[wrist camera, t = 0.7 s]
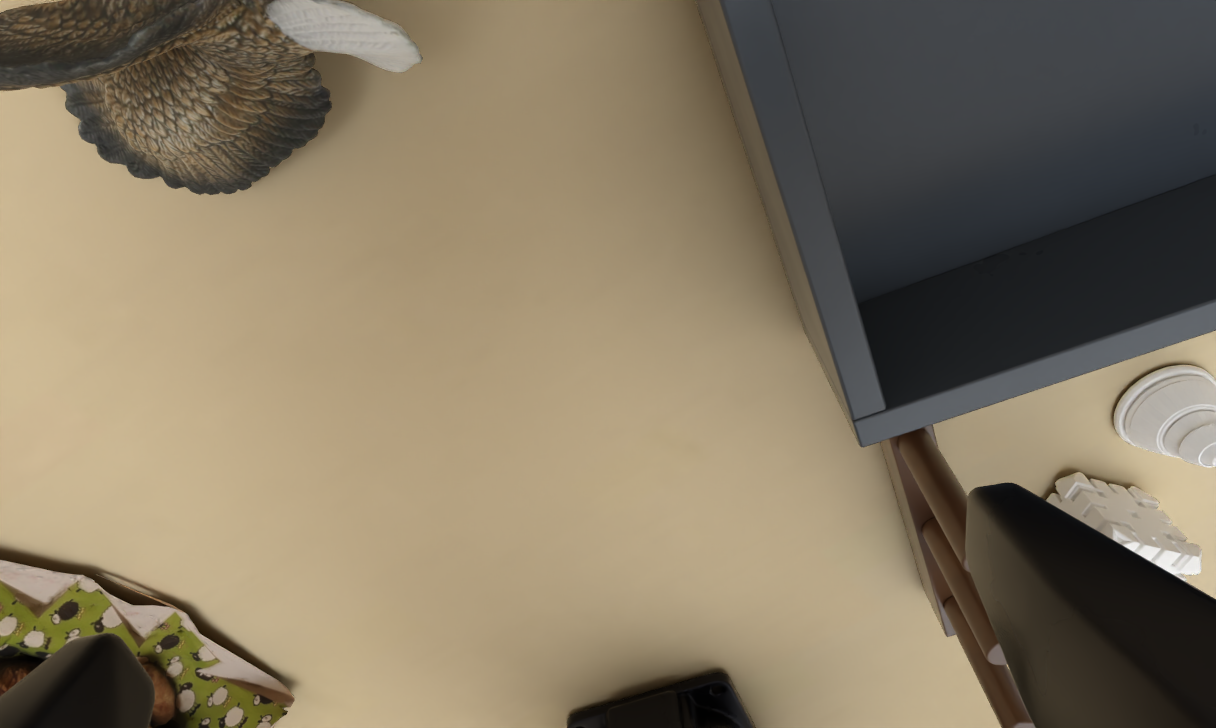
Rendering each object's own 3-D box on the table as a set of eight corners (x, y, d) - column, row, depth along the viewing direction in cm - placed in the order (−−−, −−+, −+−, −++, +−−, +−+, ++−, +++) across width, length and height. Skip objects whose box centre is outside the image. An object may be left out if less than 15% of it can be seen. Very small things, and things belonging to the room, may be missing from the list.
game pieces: (1091, 554, 28) (1147, 631, 25) (1007, 535, 27) (1055, 611, 24) (1358, 238, 22) (1469, 292, 19) (1257, 204, 21) (1358, 255, 18)
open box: (1465, 93, 20) (1725, 162, 15) (804, 332, 23) (860, 449, 18) (1555, -540, 14) (2013, -727, 10) (657, -114, 17) (687, -103, 13)
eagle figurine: (83, -419, 13) (-229, -16, 15) (184, -307, 10) (-246, 216, 11) (395, -72, 20) (156, 187, 21) (530, 76, 16) (227, 378, 18)
